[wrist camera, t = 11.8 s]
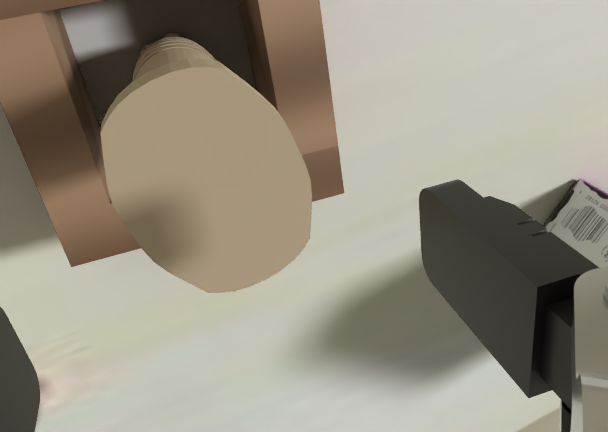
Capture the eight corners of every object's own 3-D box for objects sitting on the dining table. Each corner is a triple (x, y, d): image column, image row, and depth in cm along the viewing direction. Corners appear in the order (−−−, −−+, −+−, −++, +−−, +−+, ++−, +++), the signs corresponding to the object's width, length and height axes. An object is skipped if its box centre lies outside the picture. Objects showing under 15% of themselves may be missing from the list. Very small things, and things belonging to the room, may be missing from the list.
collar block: (-31, -55, 23) (-66, -51, 19) (274, -107, 25) (304, -114, 21) (78, 217, 29) (71, 267, 25) (314, 156, 32) (344, 192, 27)
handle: (161, 144, 29) (191, 318, 16) (89, 26, 26) (55, 129, 13) (245, 101, 29) (340, 239, 16) (184, -21, 26) (244, 33, 13)
